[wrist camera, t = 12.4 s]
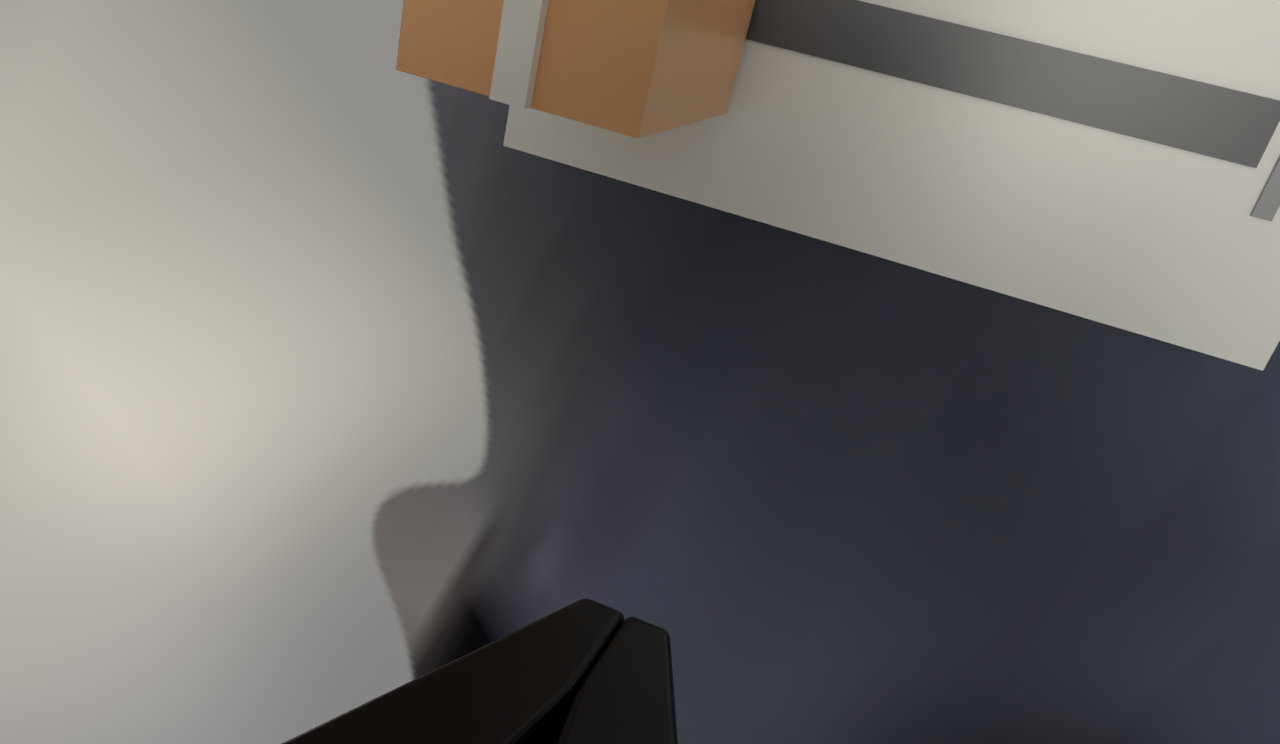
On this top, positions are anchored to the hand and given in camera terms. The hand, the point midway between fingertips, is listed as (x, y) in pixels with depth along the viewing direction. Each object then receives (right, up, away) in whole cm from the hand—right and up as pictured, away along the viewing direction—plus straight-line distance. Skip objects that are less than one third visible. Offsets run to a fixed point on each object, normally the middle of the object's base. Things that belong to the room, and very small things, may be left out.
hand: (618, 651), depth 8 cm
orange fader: (0, +9, +7) cm, 12 cm away
